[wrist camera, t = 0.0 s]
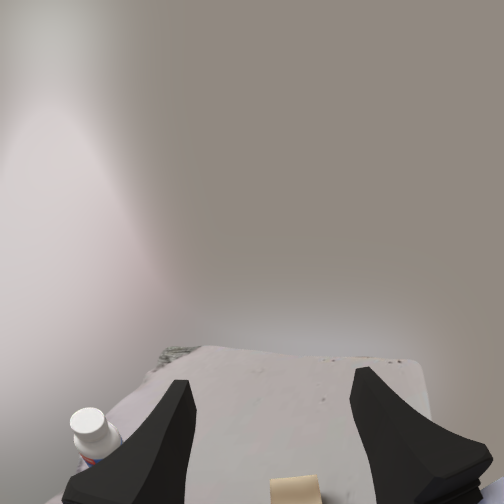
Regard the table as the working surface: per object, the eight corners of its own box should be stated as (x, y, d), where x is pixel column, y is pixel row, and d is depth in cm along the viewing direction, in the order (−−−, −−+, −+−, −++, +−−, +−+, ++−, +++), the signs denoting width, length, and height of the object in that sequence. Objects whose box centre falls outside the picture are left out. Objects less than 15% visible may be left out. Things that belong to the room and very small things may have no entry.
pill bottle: (94, 487, 23) (56, 435, 20) (100, 455, 28) (70, 401, 25) (137, 490, 24) (104, 439, 21) (140, 457, 29) (114, 403, 26)
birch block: (318, 524, 19) (323, 510, 18) (272, 529, 19) (271, 516, 18) (313, 491, 24) (316, 474, 23) (270, 495, 24) (269, 479, 23)
